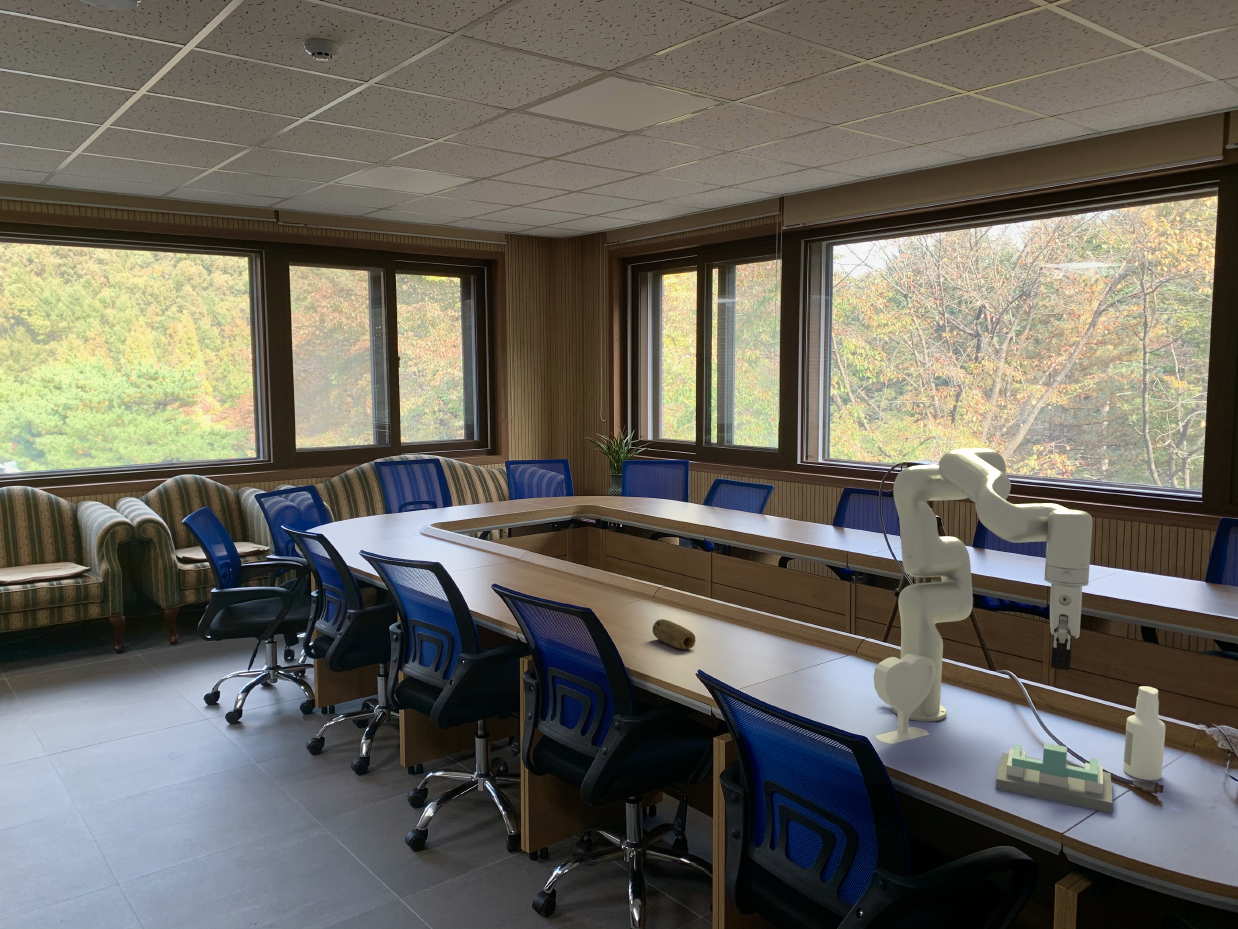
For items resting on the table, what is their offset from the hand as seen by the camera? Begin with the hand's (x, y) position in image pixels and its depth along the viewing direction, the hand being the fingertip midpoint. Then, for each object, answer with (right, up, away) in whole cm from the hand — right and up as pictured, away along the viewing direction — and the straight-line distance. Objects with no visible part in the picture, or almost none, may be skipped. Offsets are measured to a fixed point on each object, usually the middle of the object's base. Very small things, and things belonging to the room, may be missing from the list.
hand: (1060, 661), depth 170 cm
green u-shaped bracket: (+1, -22, +5) cm, 23 cm away
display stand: (+1, -26, +5) cm, 26 cm away
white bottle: (+22, -26, +11) cm, 36 cm away
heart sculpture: (-21, -23, +29) cm, 43 cm away
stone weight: (-69, -16, +94) cm, 118 cm away
